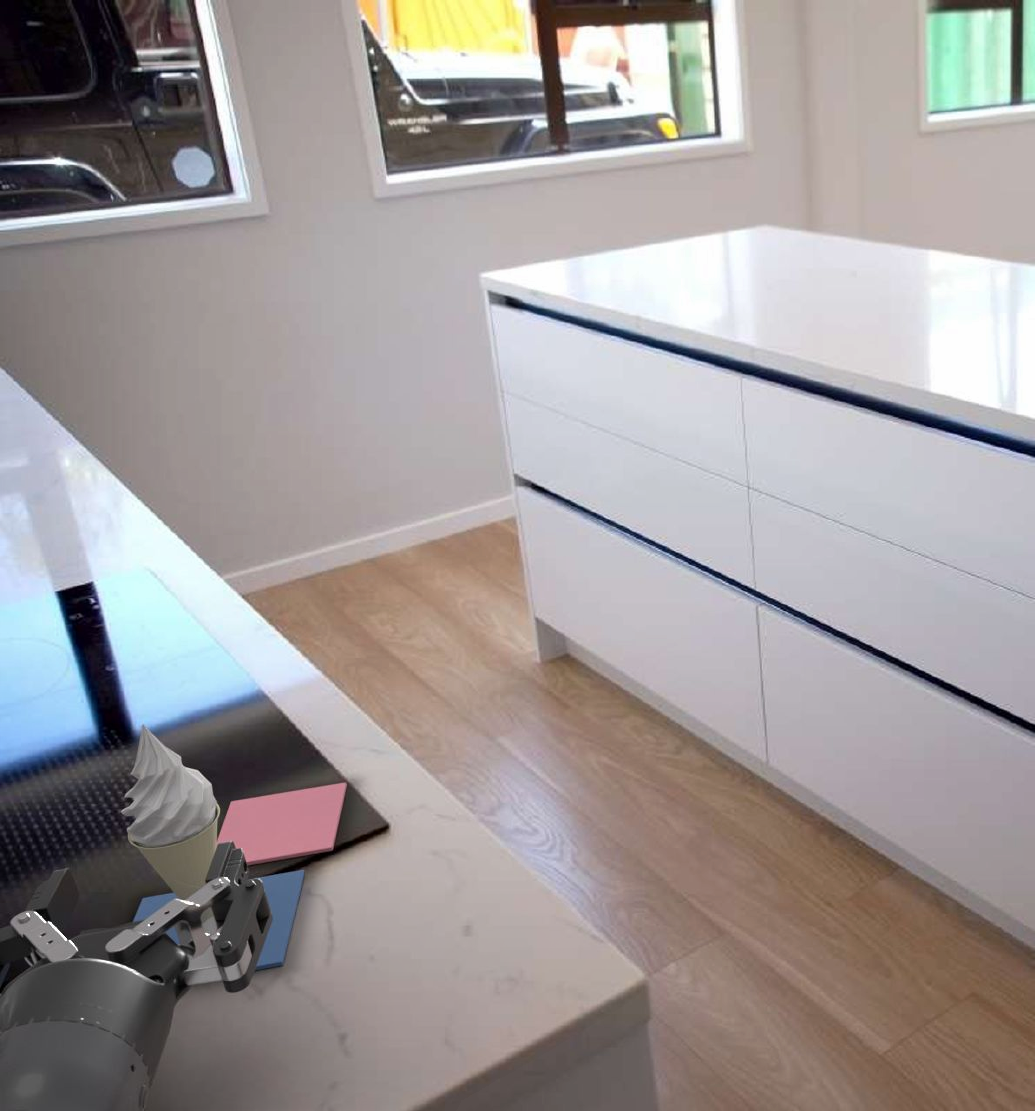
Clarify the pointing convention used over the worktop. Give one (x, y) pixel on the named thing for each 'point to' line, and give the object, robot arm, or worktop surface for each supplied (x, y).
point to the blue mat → (282, 904)
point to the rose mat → (284, 823)
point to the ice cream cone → (172, 817)
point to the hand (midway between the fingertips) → (150, 868)
